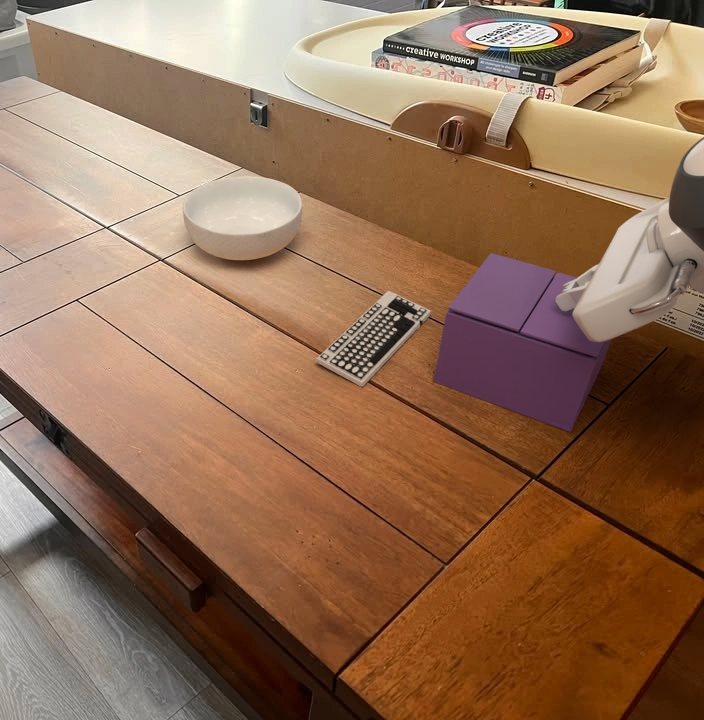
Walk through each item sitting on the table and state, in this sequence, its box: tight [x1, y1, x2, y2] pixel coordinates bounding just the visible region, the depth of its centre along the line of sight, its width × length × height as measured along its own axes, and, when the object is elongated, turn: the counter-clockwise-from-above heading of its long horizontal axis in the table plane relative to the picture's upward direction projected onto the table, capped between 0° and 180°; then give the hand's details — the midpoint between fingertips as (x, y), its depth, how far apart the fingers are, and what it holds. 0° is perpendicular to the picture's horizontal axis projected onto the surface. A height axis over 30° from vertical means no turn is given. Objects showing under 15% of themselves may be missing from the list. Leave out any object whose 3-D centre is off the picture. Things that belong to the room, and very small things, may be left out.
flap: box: [520, 272, 605, 357], centre depth 78 cm, size 7×13×1 cm, turn 146°
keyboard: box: [315, 290, 432, 388], centre depth 91 cm, size 17×6×2 cm, turn 142°
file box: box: [432, 252, 613, 433], centre depth 83 cm, size 15×13×10 cm
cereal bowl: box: [182, 175, 303, 261], centre depth 107 cm, size 17×17×7 cm
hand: (561, 298), depth 78 cm, fingers closed
